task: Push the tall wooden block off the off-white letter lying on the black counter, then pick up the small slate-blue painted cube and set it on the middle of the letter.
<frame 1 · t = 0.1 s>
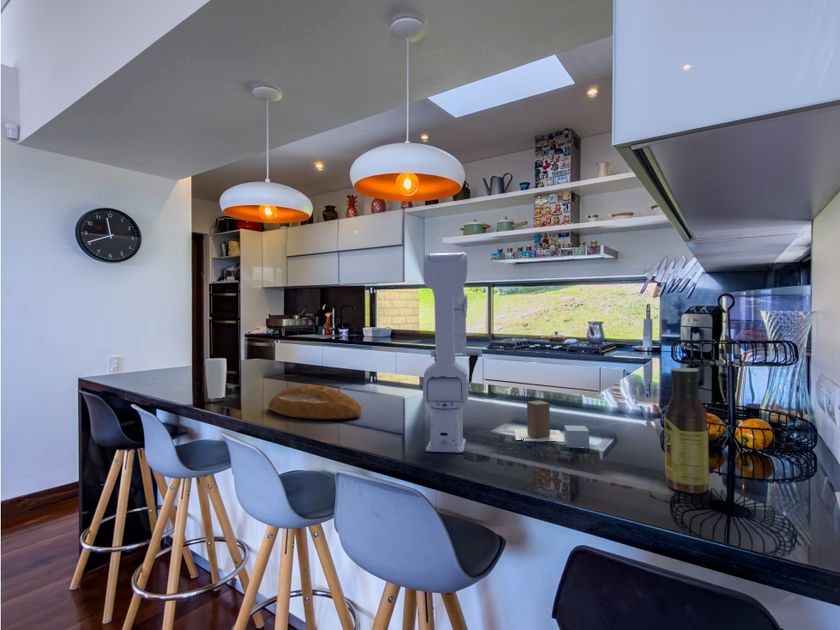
hand: (456, 382, 128), 10 cm above the table, tool pointing down, fingers open, 7 cm apart
drinking glass: (216, 402, 158), on the table
bread: (313, 414, 137), on the table
slate cube: (576, 446, 99), on the table
letter: (538, 435, 108), on the table
sauce bottle: (686, 489, 75), on the table
wooden block: (538, 436, 108), resting on letter
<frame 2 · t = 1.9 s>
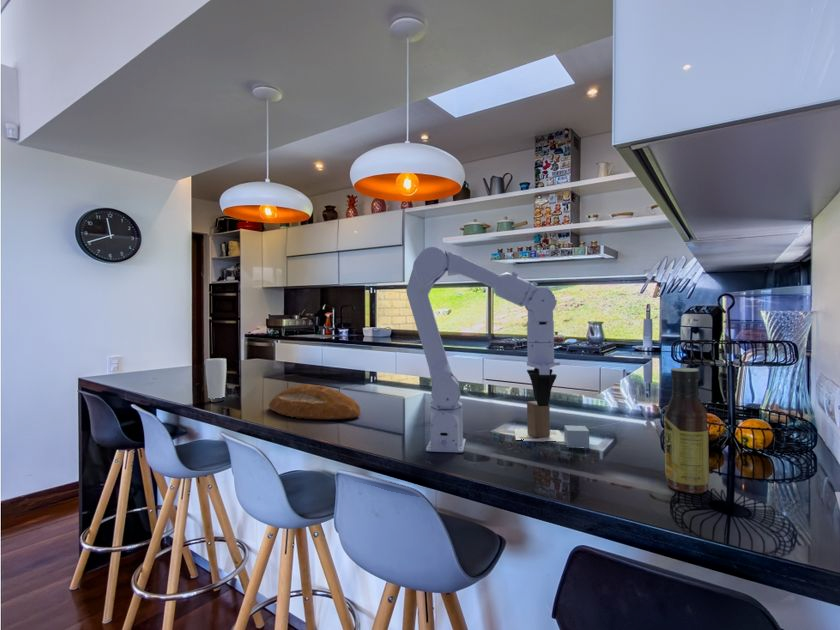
hand: (541, 403, 100), 9 cm above the table, tool pointing down, fingers open, 5 cm apart
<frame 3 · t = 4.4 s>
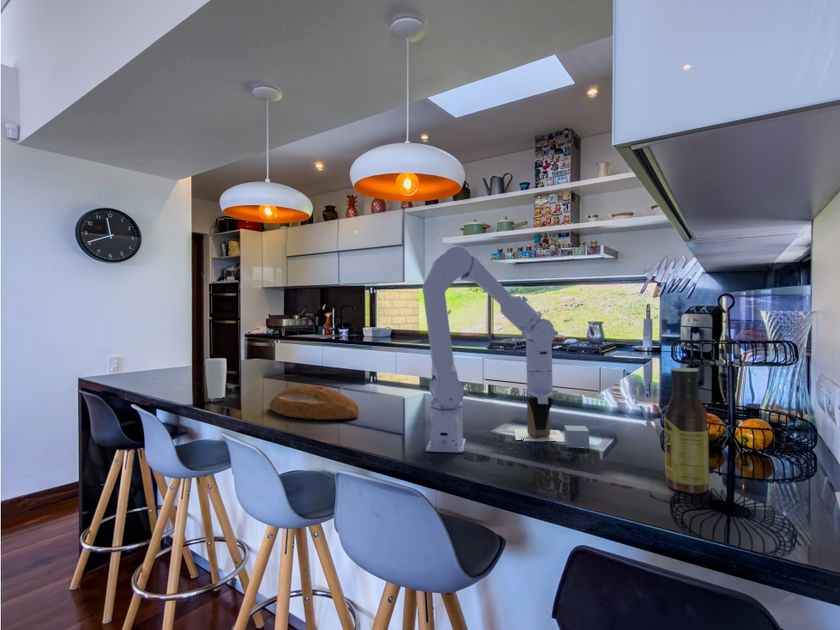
hand: (540, 429, 104), 3 cm above the table, tool pointing down, fingers closed
wooden block: (538, 436, 108), resting on letter, touching gripper
everything else where it was.
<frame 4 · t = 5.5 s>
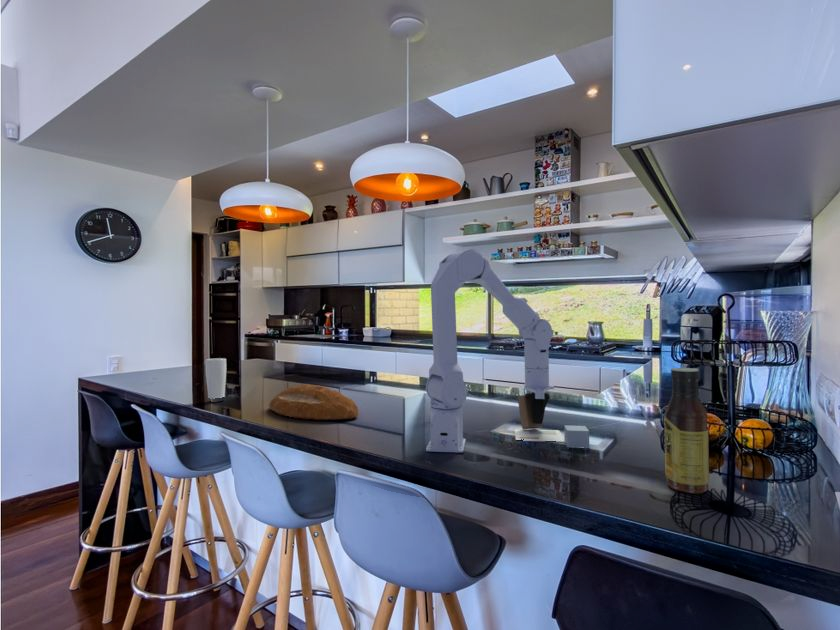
hand: (537, 423, 110), 2 cm above the table, tool pointing down, fingers closed
wooden block: (532, 428, 112), point 1 cm above the table, touching gripper
everything else where it was.
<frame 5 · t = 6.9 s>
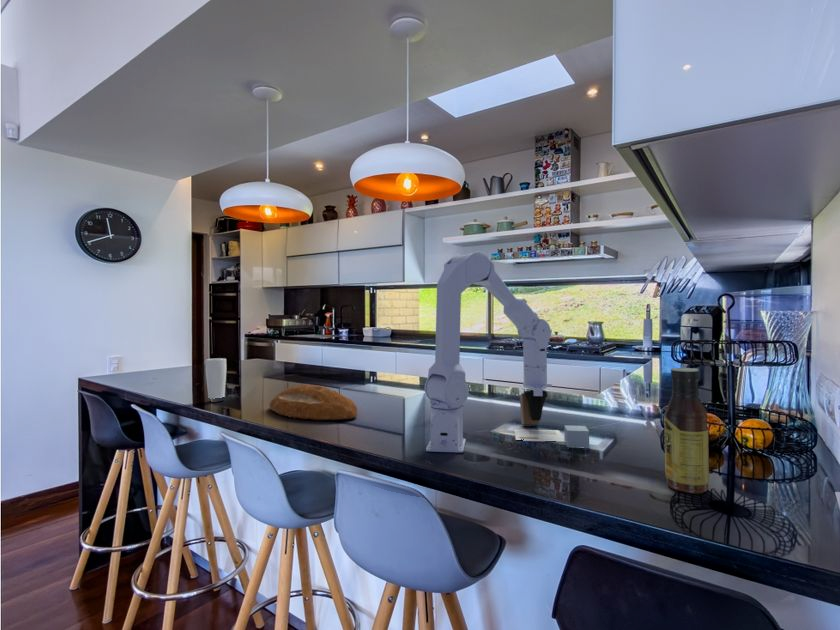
hand: (535, 419, 114), 2 cm above the table, tool pointing down, fingers closed
wooden block: (530, 425, 116), on the table, touching gripper
everything else where it was.
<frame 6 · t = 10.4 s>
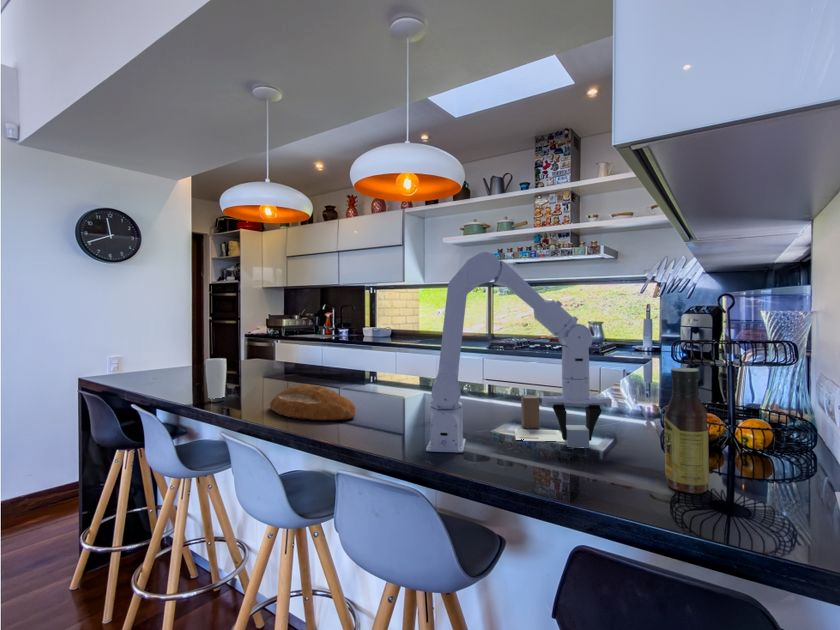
hand: (576, 439, 99), 1 cm above the table, tool pointing down, fingers closed on slate cube, 4 cm apart
slate cube: (576, 445, 99), on the table, touching gripper
wooden block: (530, 428, 116), on the table
when the fingers open (3 cm above the table, at t = 13.4 s): slate cube stays where it is, resting on letter.
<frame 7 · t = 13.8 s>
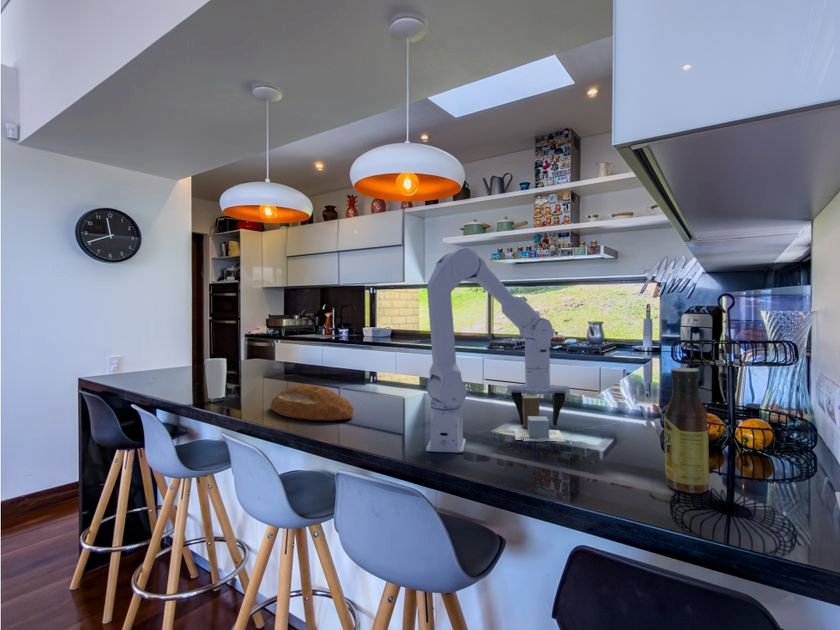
hand: (538, 424, 108), 3 cm above the table, tool pointing down, fingers open, 7 cm apart
slate cube: (538, 435, 108), resting on letter
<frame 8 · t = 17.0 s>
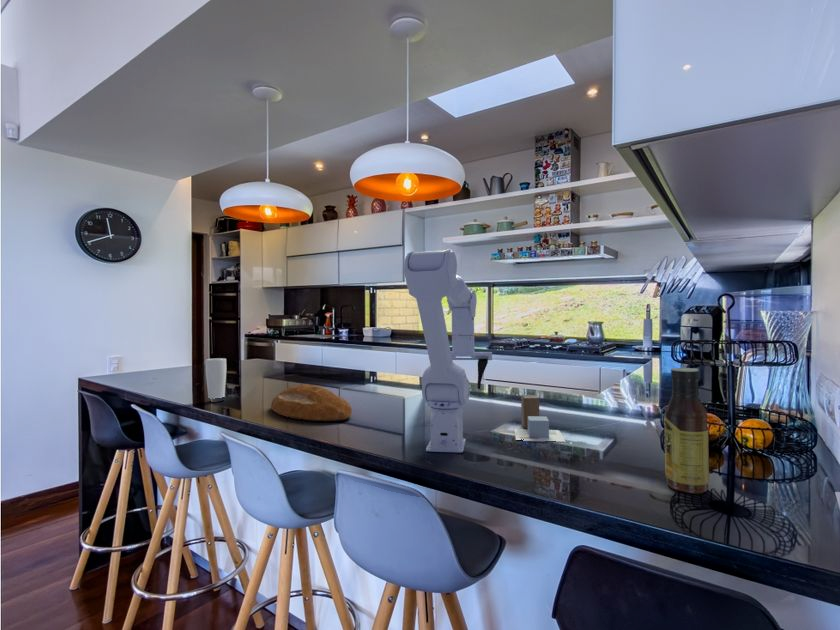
hand: (464, 388, 115), 10 cm above the table, tool pointing down, fingers open, 7 cm apart
at the end: wooden block inside the target area on the table beside the letter (11.2 cm from its centre), on the table; slate cube inside the target area on the letter (0.0 cm from its centre), point 0.1 cm above the letter's base; slate cube tilted 0° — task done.
